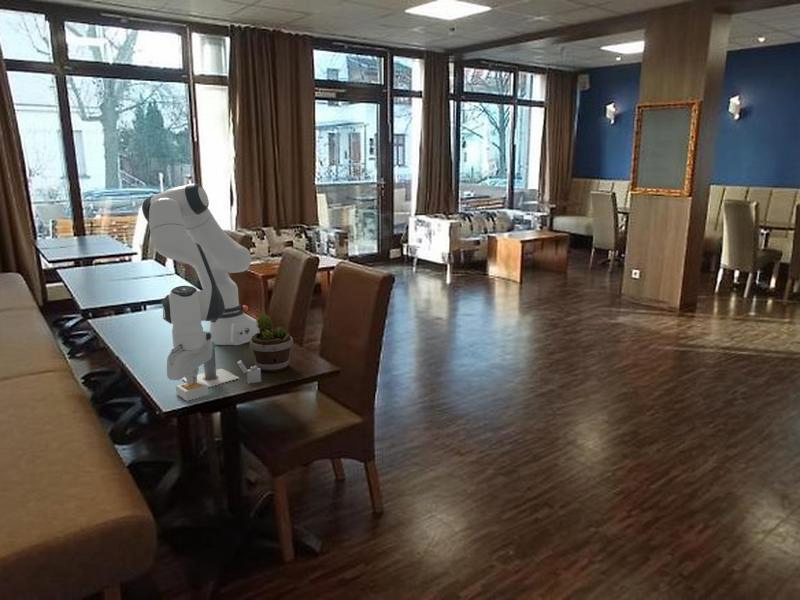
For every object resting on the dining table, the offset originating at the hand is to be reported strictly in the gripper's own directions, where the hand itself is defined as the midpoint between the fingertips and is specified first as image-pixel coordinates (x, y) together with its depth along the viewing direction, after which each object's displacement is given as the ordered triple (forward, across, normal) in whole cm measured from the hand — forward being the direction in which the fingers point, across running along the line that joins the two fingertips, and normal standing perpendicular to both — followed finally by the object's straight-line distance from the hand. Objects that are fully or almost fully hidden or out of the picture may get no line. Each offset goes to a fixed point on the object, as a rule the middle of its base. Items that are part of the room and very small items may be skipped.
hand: (192, 383), depth 179 cm
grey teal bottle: (+3, +12, +1) cm, 12 cm away
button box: (+4, -1, 0) cm, 4 cm away
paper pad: (+4, +12, +1) cm, 13 cm away
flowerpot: (+4, +27, -15) cm, 31 cm away
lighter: (+4, +12, -13) cm, 18 cm away
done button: (+2, -1, 0) cm, 2 cm away
